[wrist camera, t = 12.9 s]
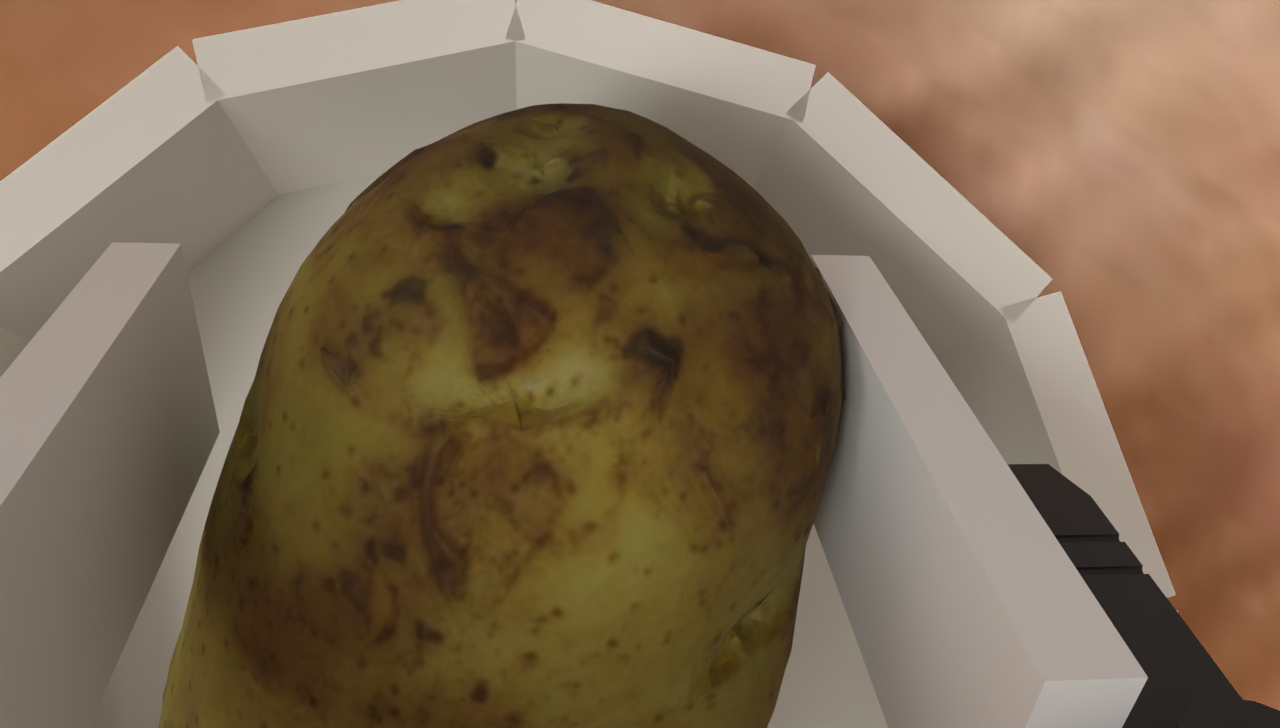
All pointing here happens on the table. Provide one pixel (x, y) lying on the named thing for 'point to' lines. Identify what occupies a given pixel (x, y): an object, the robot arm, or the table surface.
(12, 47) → the table surface
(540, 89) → the bowl
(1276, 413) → the table surface
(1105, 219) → the table surface
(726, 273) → the potato
